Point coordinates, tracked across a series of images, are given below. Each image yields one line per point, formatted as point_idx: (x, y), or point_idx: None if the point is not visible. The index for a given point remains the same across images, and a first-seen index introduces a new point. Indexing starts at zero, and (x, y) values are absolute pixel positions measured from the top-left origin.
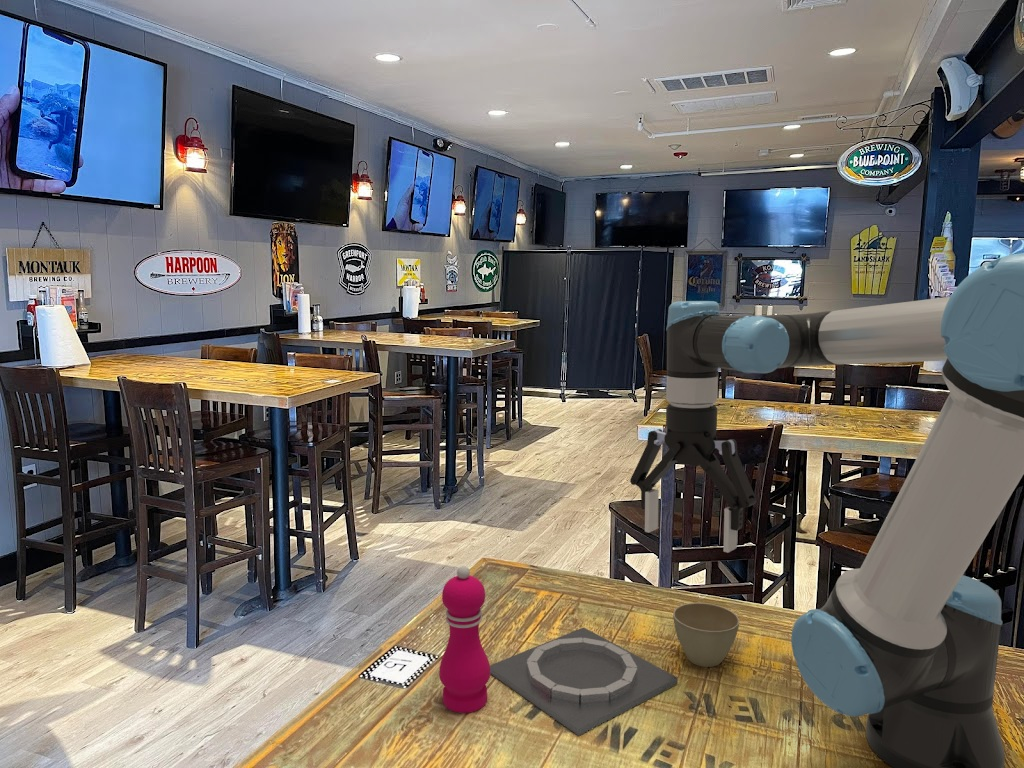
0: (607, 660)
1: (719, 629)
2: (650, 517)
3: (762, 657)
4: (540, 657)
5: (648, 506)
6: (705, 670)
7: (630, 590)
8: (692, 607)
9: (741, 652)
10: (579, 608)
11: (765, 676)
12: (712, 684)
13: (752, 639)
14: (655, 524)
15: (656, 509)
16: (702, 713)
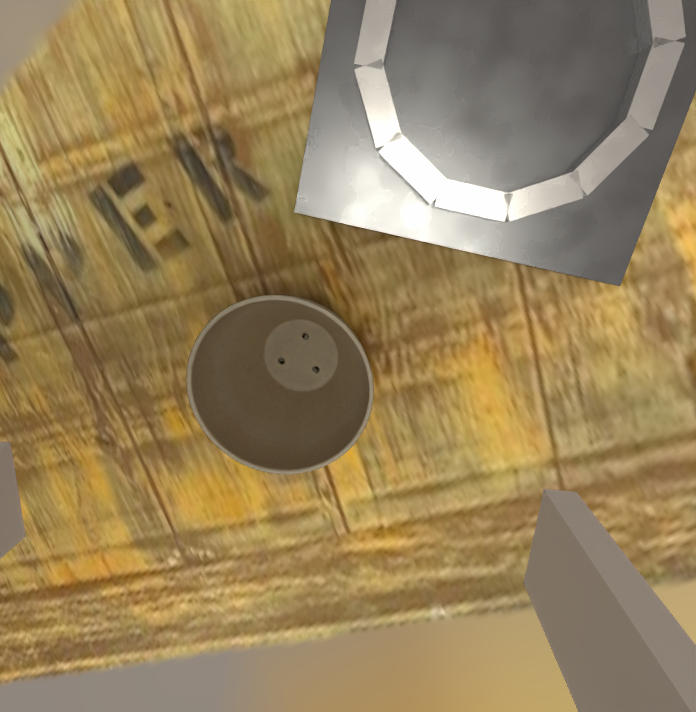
0: (476, 166)
1: (283, 429)
2: (587, 583)
3: None
4: (645, 3)
5: (664, 660)
6: None
7: None
8: (349, 438)
9: None
10: (685, 396)
11: (170, 366)
12: (237, 264)
13: (260, 493)
14: (542, 586)
15: (590, 702)
16: (196, 135)
